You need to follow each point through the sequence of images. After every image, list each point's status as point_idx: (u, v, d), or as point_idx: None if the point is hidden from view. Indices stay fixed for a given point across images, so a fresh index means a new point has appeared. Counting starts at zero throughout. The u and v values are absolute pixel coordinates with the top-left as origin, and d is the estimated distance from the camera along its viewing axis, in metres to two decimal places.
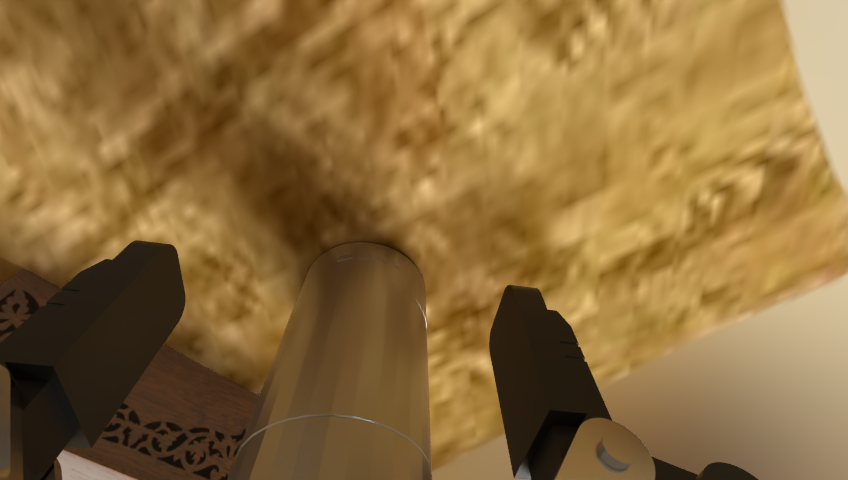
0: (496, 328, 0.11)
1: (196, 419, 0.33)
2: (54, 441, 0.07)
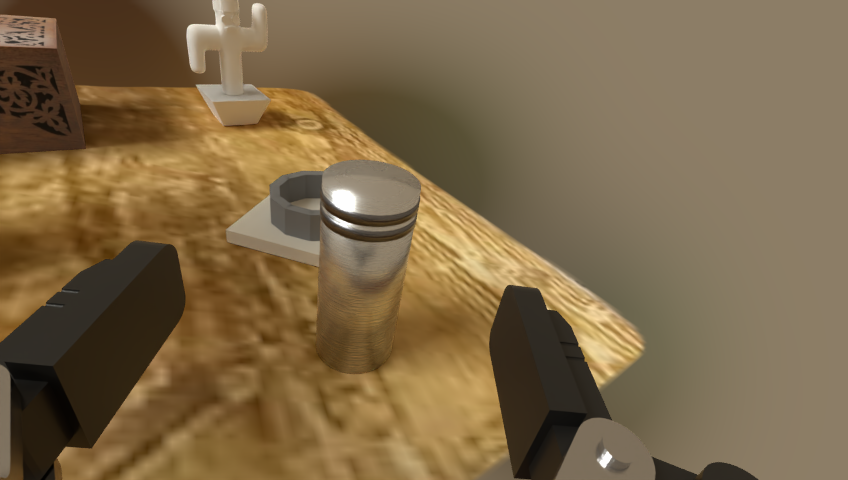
0: (496, 328, 0.11)
1: None
2: (54, 441, 0.07)
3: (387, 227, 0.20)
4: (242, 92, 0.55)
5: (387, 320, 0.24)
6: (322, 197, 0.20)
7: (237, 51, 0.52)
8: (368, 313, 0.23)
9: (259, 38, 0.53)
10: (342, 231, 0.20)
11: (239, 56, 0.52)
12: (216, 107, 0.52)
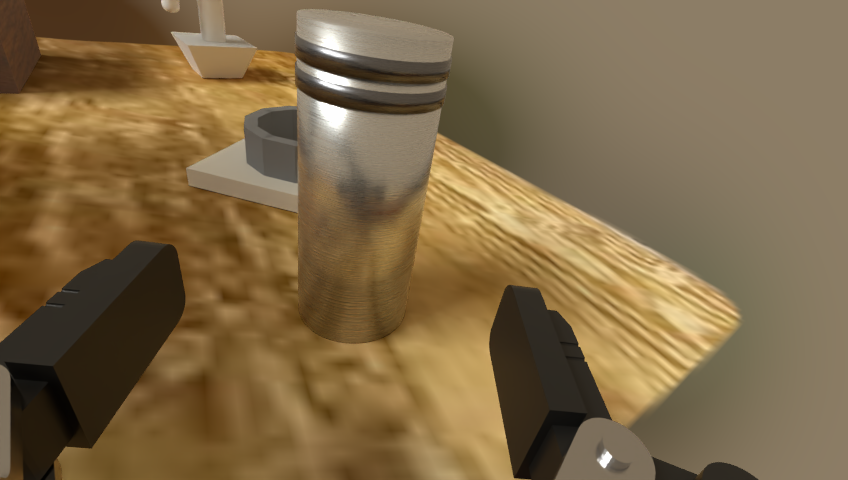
0: (496, 328, 0.11)
1: None
2: (54, 441, 0.07)
3: (402, 86, 0.12)
4: (224, 39, 0.47)
5: (401, 260, 0.16)
6: (296, 43, 0.13)
7: None
8: (372, 244, 0.15)
9: None
10: (329, 95, 0.12)
11: None
12: (192, 53, 0.44)
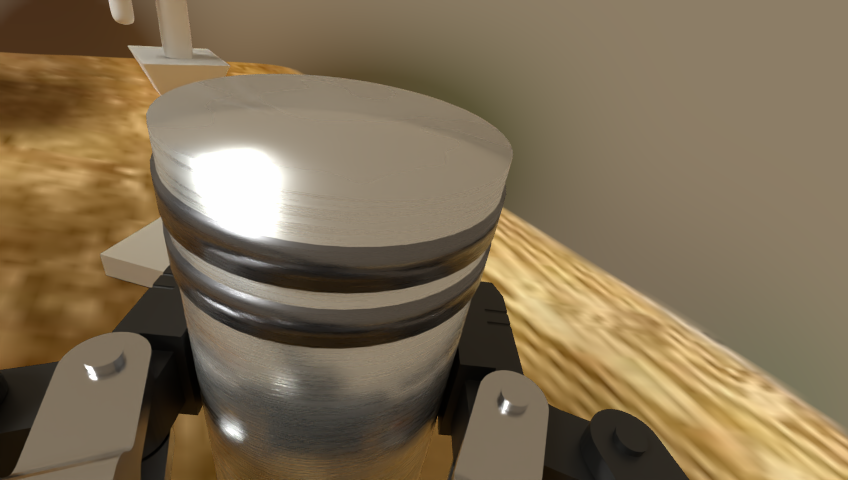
0: None
1: None
2: (173, 405, 0.08)
3: (400, 292, 0.05)
4: (191, 55, 0.40)
5: None
6: None
7: None
8: None
9: None
10: (224, 308, 0.05)
11: (183, 2, 0.37)
12: (150, 73, 0.37)
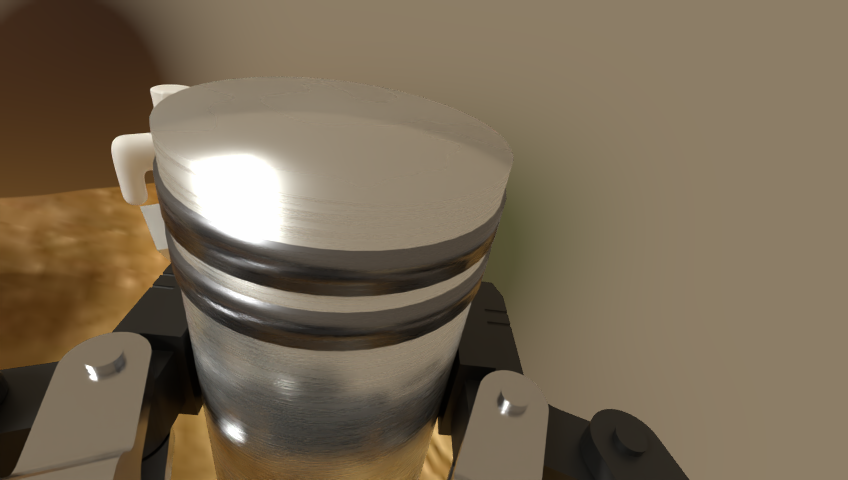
0: None
1: None
2: (174, 406, 0.08)
3: (402, 295, 0.05)
4: None
5: None
6: None
7: None
8: None
9: None
10: (226, 311, 0.05)
11: None
12: (165, 255, 0.33)
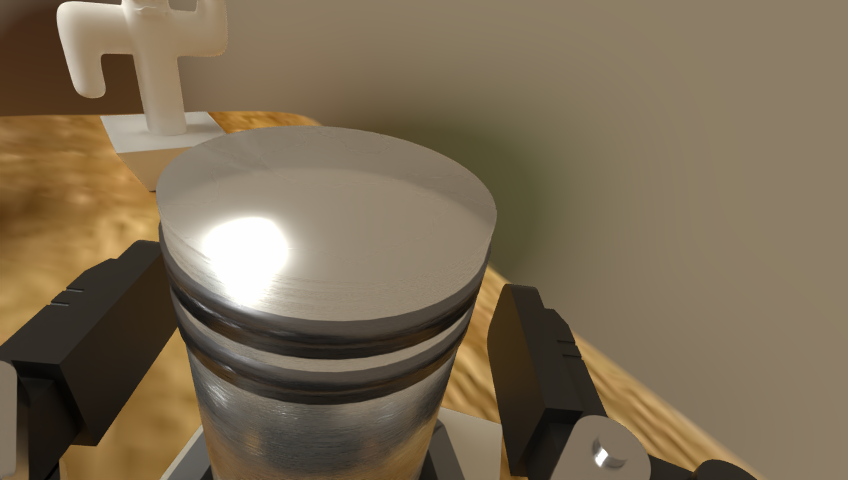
0: (494, 327, 0.11)
1: None
2: (59, 439, 0.07)
3: (390, 355, 0.05)
4: (183, 129, 0.30)
5: None
6: None
7: (167, 55, 0.27)
8: None
9: (210, 31, 0.28)
10: (227, 367, 0.06)
11: (172, 65, 0.28)
12: (127, 162, 0.27)
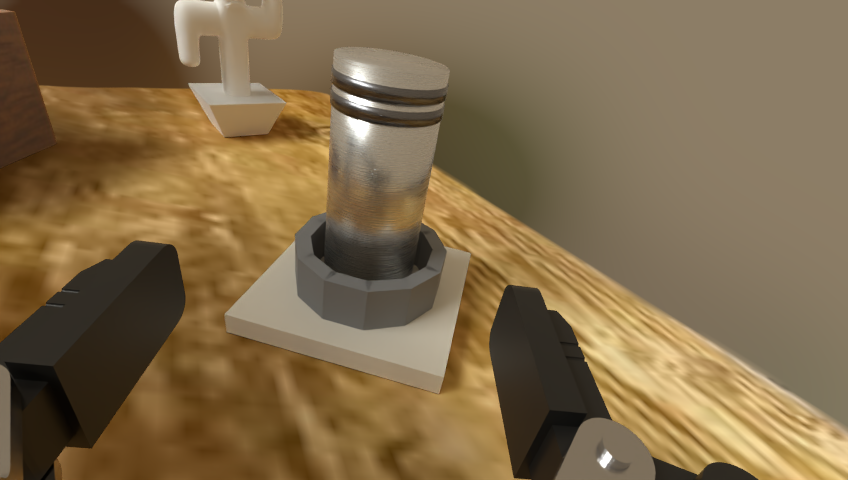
0: (496, 328, 0.11)
1: None
2: (54, 441, 0.07)
3: (412, 107, 0.17)
4: (249, 93, 0.42)
5: (408, 240, 0.21)
6: (334, 74, 0.17)
7: (242, 37, 0.39)
8: (386, 226, 0.20)
9: (272, 21, 0.39)
10: (358, 113, 0.17)
11: (245, 44, 0.39)
12: (214, 112, 0.38)
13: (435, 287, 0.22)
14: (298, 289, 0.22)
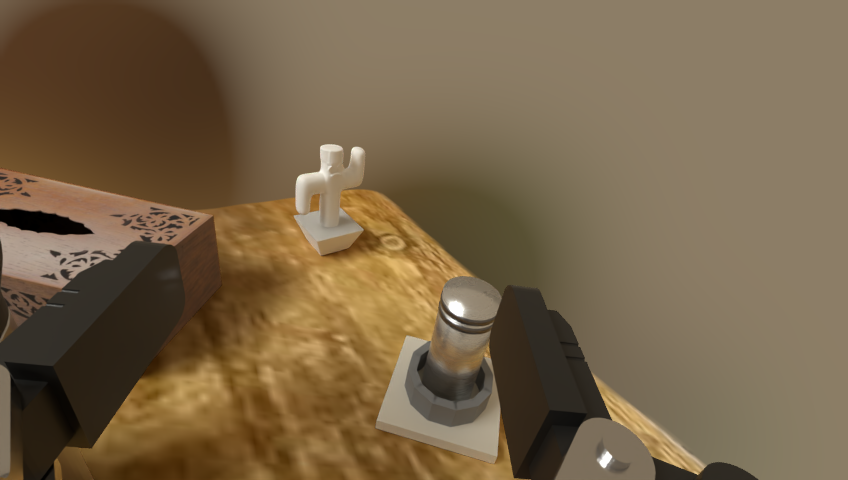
0: (496, 328, 0.11)
1: None
2: (54, 441, 0.07)
3: (485, 325, 0.34)
4: (337, 223, 0.58)
5: (475, 376, 0.38)
6: (445, 307, 0.34)
7: (338, 192, 0.55)
8: (466, 373, 0.36)
9: (357, 177, 0.56)
10: (458, 328, 0.34)
11: (339, 195, 0.56)
12: (319, 244, 0.55)
13: (488, 399, 0.39)
14: (411, 401, 0.39)
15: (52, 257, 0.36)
